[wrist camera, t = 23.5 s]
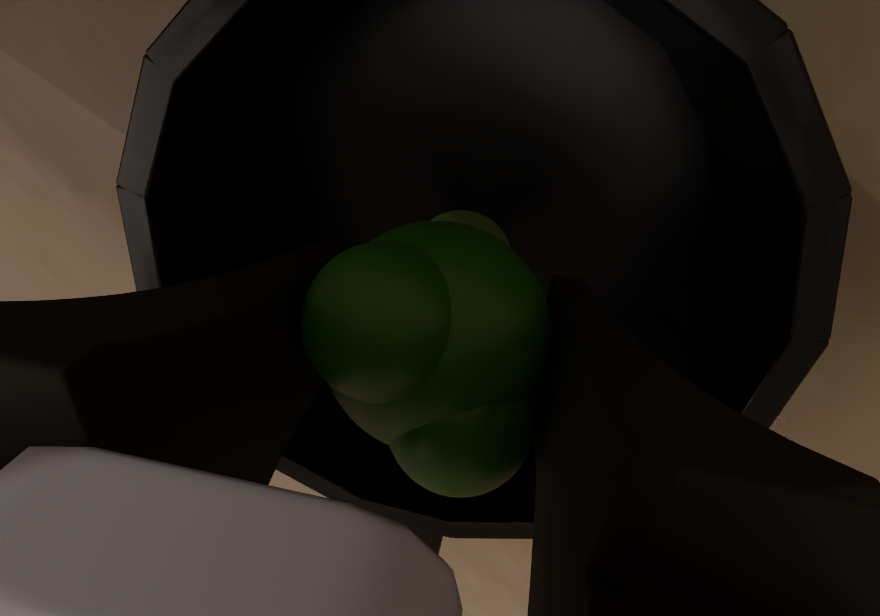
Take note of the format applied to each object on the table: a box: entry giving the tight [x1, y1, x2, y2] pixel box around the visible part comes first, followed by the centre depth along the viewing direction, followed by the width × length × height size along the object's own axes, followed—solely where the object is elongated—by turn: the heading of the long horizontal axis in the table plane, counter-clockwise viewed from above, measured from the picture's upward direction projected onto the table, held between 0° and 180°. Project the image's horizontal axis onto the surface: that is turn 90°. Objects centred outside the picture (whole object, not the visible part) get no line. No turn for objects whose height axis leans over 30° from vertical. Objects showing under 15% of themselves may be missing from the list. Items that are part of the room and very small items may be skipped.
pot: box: [116, 0, 852, 554], centre depth 13 cm, size 14×20×6 cm
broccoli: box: [301, 210, 553, 498], centre depth 11 cm, size 5×5×7 cm
